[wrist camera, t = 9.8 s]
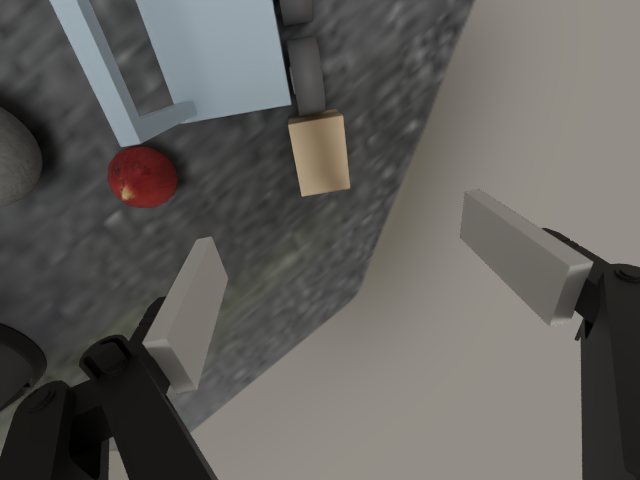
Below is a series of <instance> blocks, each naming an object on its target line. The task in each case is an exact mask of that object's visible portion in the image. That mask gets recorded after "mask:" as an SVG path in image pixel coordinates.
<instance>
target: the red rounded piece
mask: <svg viewBox="0 0 640 480" xmlns="http://www.w3.org/2000/svg"><path fill="white" fill-rule="evenodd" d="M108 182H109V184H110V187H111V190H112V191H113V192H114V194H115V195H116V196H117V197H118V198H119V199H120V200H122V201H123V202H125V203H126V204H128V205H131V206H135V207H139V208H151V207H155V206H158V205H160V204H163V203H165V202H167V201H168V200H169V198H170V197H171V196H172V195H173V194H174V192H175V189H176V186H177V182H178V179H177V173H176V169H175V168H174V166H173V164H172V163H171V161H170V160H169V159H168V158H167V157H166V156H164V155H163V154H162V153H161V152H159V151H156V150H154V149H152V148H150V147H143V146H133V147H130V148H127V149H125V150H122V151H120V152H118V153H117V154H116V155H115V157H114V158H113V160H112V161H111V163H110V164H109V168H108Z"/></svg>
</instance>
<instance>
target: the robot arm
mask: <svg viewBox="0 0 640 480" xmlns="http://www.w3.org/2000/svg"><path fill="white" fill-rule="evenodd" d="M460 238H461V239H462V240H463V241H464V242H465V243H466V244H467V245H468V246H469V247H470V248H471V249H472V250H473V251H474V252H475V253H476V254H477V255H478V256H479V257H480V258H481V259H482V260H483V261H484V262H485V263H486V264H487V265H488V266H489V267H490V268H491V269H492V270H493V271H494V272H495V273H496V274H497V275H498V276H499V277H500V278H501V279H502V280H503V281H504V282H505V283H506V284H507V285H508V286H509V287H510V288H511V289H512V290H513V291H514V292H515V293H516V294H517V295H518V296H519V297H520V298H521V299H522V300H523V301H524V302H525V303H526V304H527V305H528V306H529V307H530V308H531V309H532V310H533V311H534V312H535V313H536V314H537V315H538V316H539V317H541V319H542V320H543V321H544V322H545V323H546V324H547V325H548V326H555V325H561V324H566V323H570V321H571V319H572V316H573V313H574V311H576V312H578V313H579V314H580V315H581V316H582V317H583V320H582V323H581V325H580V328H579V330H578V332H577V335H576V337H575V340H577V341H578V340H579V339H580V337H581V397H582V398H581V401H582V476H583V477H582V478H583V480H640V267H637V266H632V265H628V264H609V263H608V262H606V261H604V260H603V259H601V258H600V257H598V256H596V255H595V254H593V253H591V252H590V251H588V250H587V249H585V248H583V247H582V246H579V245H578V244H577V243H575V242H574V241H570V239H569V238H567V237H565V236H564V235H562V234H560V233H559V232H556V231H553V230H550V229H547V228H540V227H538V226H536V225H535V224H533V223H532V222H530V221H529V220H527V219H525V218H524V217H522V216H521V215H519V214H518V213H516V212H515V211H513V210H512V209H510V208H508V207H507V206H505V205H504V204H502V203H501V202H499V201H497V200H496V199H494V198H492V197H491V196H490V195H488V194H487V193H485V192H483V191H482V190H480V189H477V190H471V191H465V193H464V202H463V213H462V222H461V233H460ZM227 281H228V277H227V274H226V272H225V269H224V267H223V264H222V262H221V259H220V257H219V254H218V251H217V249H216V246H215V244H214V241H213V239H212V237H206V238H201V239H197V240H196V242H195V244H194V246H193V247H192V249H191V251H190V253H189V255H188V257H187V259H186V261H185V263H184V265H183V266H182V268H181V270H180V272H179V274H178V276H177V278H176V280H175V282H174V284H173V285H172V287H171V289H170V291H169V293H168V295H167V296H165V297H159V298H158V299H157V300H155V301H154V302H153V303H152V304H151V305H150V306H149V307H148V309H147V311H146V313H145V314H144V316H143V317H144V318H142V320H141V321H140V323H139V326H138V327H137V328H136V330H135V332H134V333H133V335H132V337H131V339H130V340H129V342H128V340H127V339H126V337H124V336H123V335H112V336H108V337H106V338H103V339H101V340H99V341H98V342H96V343H95V344H93V345H92V346H90V347H89V348H88V349H87V350H86V351H85V352H84V353H83V355H82V357H81V358H80V360H79V367H80V368H81V369H82V370H83V371H84V372H85V373H86V374H87V376H88V377H89V378H90V380H88V381H85V382H83V383H81V384H78V385H76V386H73V387H71V388H70V387H69V386H68V385H67V384H66V383H65V382H63V381H62V380H60V381H53V382H50V383H47V384H45V385H43V386H41V387H39V388H38V389H36V390H35V391H33V392H32V393H31V394H29V395H28V396H27V397H26V398H25V399H24V400H23V401H22V402H21V403H20V405H19V406H18V408H17V409H16V411H15V413H14V416H13V419H12V422H11V425H10V428H9V431H8V435H7V438H6V441H5V444H4V447H3V450H2V453H1V456H0V480H108V470H109V438H111V437H114V439H115V442H116V445H117V448H118V450H119V453H120V456H121V459H122V461H123V464H124V467H125V470H126V472H127V474H128V478H129V480H218V479H217V477H216V476H215V474H214V472H213V470H212V469H211V467H210V465H209V464H208V462H207V461H206V459H205V457H204V456H203V454H202V452H201V451H200V449H199V447H198V446H197V444H196V443H195V441H194V439H193V438H192V436H191V434H190V433H189V431H188V429H187V428H186V426H185V424H184V423H183V421H182V420H181V418H180V416H179V415H178V413H177V411H176V410H175V408H174V406H173V405H172V403H171V402H170V400H169V398H168V397H167V396H166V393H167V391H168V388H169V385H171V386H172V388H173V389H174V391H175V392H176V394H177V393H183V392H188V391H194V390H197V388H198V385H199V381H200V377H201V374H202V370H203V367H204V363H205V360H206V356H207V353H208V349H209V345H210V342H211V338H212V335H213V331H214V328H215V324H216V320H217V317H218V313H219V310H220V306H221V303H222V299H223V296H224V292H225V288H226V285H227ZM45 369H46V361H45V358H44V356H43V354H42V352H41V351H40V350H39V348H38V347H37V346H36V345H35V344H34V343H33V342H31V341H30V340H29V339H28V338H26V337H25V336H23V335H22V334H20V333H18V332H16V331H14V330H12V329H10V328H8V327H5V326H3V325H0V412H1V411H3V410H4V409H5V408H7V407H8V406H9V405H11V404H12V403H13V402H15V401H16V400H17V399H19V398H20V397H21V396H23V395H24V394H25V393H27V392H28V391H29V390H30V389H31V388H32V387H33V386H34V385H35V384H36V383H37V381H38V380H39V379H40V378H41V376H42V375H43V374H44V372H45Z"/></svg>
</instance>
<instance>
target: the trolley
mask: <svg viewBox="0 0 640 480" xmlns="http://www.w3.org/2000/svg"><path fill="white" fill-rule="evenodd" d="M279 1H280V7H281V13H282V19H283V24H284V26H290V25H295V24H301V23H307V22H312V21H313V5H312V0H279ZM50 2H51V4H52V6H53V8H54V10H55V12H56V14H57V16H58V18H59V20H60V23H61V25H62V27H63V29H64V31H65V33H66V35H67V37H68V39H69V41H70V43H71V45H72V47H73V49H74V51H75V53H76V55H77V58H78V60H79V62H80V64H81V66H82V68H83V70H84V72H85V74H86V76H87V78H88V80H89V82H90V84H91V86H92V88H93V90H94V93H95V95H96V97H97V99H98V101H99V103H100V105H101V107H102V109H103V111H104V113H105V115H106V117H107V119H108V121H109V123H110V125H111V128H112V130H113V132H114V134H115V136H116V138H117V140H118V142H119V144H120V146H121V147H125V146H131V145H136V144H141V143H143V142H145V141H147V140H149V139H151V138H153V137H155V136H157V135H158V134H160V133H162V132H164V131H166V130H168V129H170V128H172V127H174V126H176V125H178V124H179V123H181V124H183V123H189V122H195V121H200V120H206V119H212V118H218V117H223V116H229V115H235V114H240V113H246V112H252V111H257V110H263V109H269V108H274V107H280V106H286V105H291V94H290V88H289V83H288V77H287V72H286V66H285V61H284V55H283V50H282V44H281V39H280V33H279V28H278V22H277V17H276V11H275V6H274V0H136V2H137V5H138V8H139V10H140V13H141V16H142V18H143V21H144V24H145V27H146V29H147V32H148V35H149V37H150V40H151V43H152V46H153V48H154V51H155V54H156V56H157V59H158V62H159V65H160V67H161V70H162V73H163V75H164V78H165V81H166V84H167V86H168V89H169V92H170V94H171V97H172V100H173V103H174V105H172V106H169V107H166V108H163V109H160V110H157V111H154V112H151V113H148V114H145V115H142V116H139V115H138V113H137V110H136V108H135V106H134V103H133V101H132V99H131V96H130V94H129V92H128V90H127V87H126V85H125V83H124V80H123V78H122V76H121V73H120V71H119V69H118V66H117V64H116V62H115V59H114V57H113V55H112V53H111V50H110V48H109V46H108V43H107V41H106V39H105V36H104V34H103V32H102V29H101V27H100V25H99V22H98V20H97V18H96V16H95V13H94V11H93V9H92V6H91V4H90V2H89V0H50ZM287 47H288V53H289V59H290V65H291V67H289V69H290V75H291V80H292V86H293V91H294V94H296V99H297V105H298V111H299V116H304V115H310V114H315V113H321V112H325V92H324V82H323V74H322V67H321V61H320V55H319V49H318V44H317V40H316V37H315V36H310V37H305V38H299V39H293V40H288V41H287Z"/></svg>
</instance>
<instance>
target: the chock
mask: <svg viewBox="0 0 640 480" xmlns="http://www.w3.org/2000/svg"><path fill="white" fill-rule="evenodd" d="M288 127H289V132H290V137H291V143H292V148H293V153H294V158H295V164H296V169H297V174H298V179H299V185H300V190H301V195H302V196H308V195H314V194H320V193H326V192H332V191H338V190H344V189H349V188H350V181H349V171H348V161H347V151H346V141H345V131H344V121H343V115H342V114H341V113H340V112H339V111H338V110H337V109H332V110H326V111H325V112H321V113H315V114H310V115H304V116H299V115H296V116H291V117H288Z"/></svg>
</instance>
